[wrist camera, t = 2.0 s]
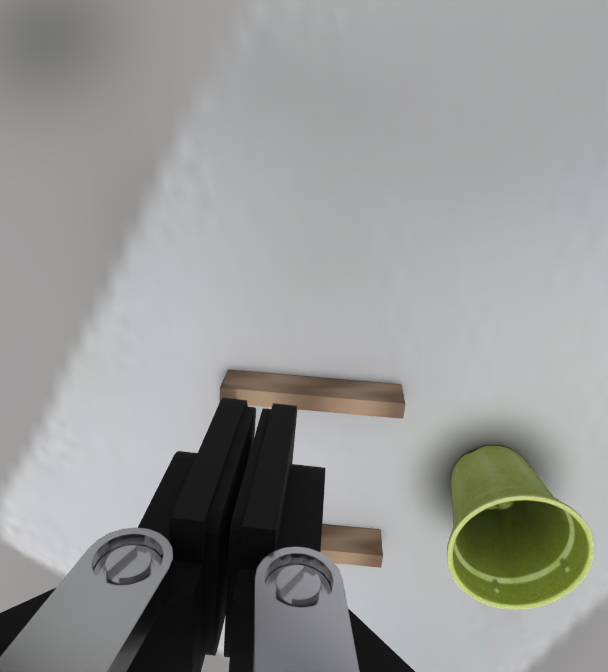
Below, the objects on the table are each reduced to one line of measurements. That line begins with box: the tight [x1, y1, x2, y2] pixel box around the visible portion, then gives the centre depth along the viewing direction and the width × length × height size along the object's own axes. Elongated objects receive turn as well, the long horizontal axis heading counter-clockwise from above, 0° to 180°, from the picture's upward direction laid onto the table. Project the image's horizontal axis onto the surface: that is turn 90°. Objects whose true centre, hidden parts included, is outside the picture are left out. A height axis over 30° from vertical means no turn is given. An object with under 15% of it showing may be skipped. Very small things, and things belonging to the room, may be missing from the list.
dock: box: [220, 370, 405, 567], centre depth 44 cm, size 13×15×3 cm
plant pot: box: [447, 446, 594, 610], centre depth 40 cm, size 9×9×9 cm
